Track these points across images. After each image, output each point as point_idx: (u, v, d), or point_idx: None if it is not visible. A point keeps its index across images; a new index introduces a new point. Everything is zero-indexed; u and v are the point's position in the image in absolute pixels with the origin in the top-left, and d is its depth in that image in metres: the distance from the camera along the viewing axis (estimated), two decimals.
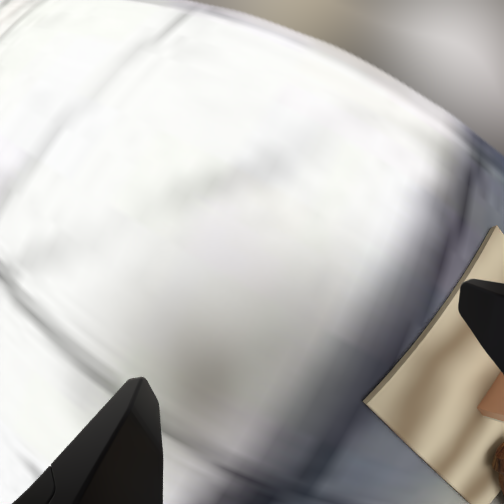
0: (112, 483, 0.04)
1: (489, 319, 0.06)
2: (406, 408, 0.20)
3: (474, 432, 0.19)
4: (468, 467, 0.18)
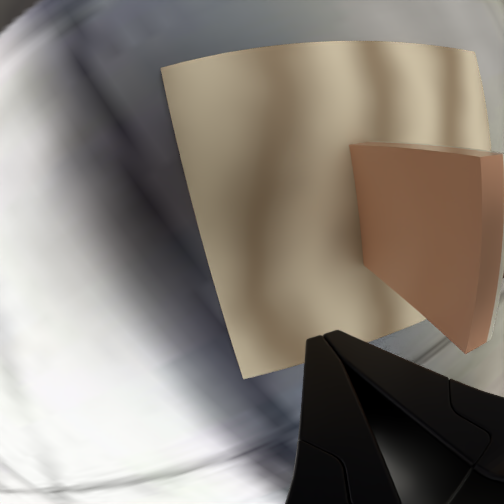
0: None
1: None
2: (280, 348, 0.20)
3: None
4: None
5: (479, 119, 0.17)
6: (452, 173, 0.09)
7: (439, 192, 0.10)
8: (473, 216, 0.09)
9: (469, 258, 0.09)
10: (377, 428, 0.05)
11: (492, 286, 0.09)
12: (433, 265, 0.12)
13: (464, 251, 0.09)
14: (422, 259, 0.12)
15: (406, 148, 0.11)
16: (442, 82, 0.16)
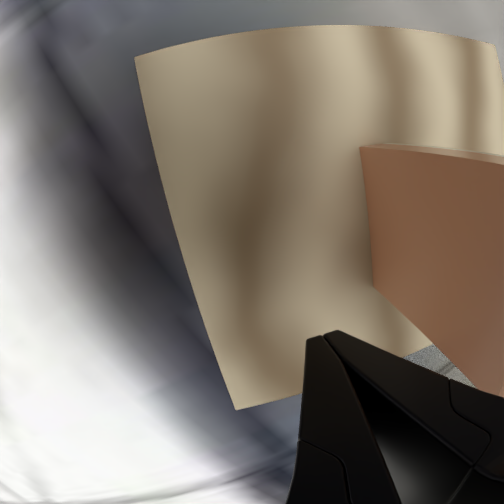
0: None
1: None
2: (277, 379, 0.18)
3: None
4: None
5: (500, 119, 0.14)
6: (499, 190, 0.06)
7: (479, 213, 0.07)
8: None
9: None
10: (377, 428, 0.05)
11: None
12: (463, 300, 0.09)
13: None
14: (449, 292, 0.10)
15: (435, 154, 0.09)
16: (462, 76, 0.13)
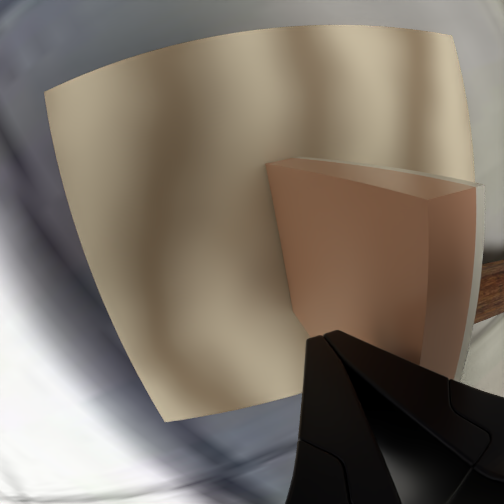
0: None
1: None
2: (199, 396, 0.17)
3: None
4: None
5: (457, 121, 0.14)
6: (380, 222, 0.06)
7: (362, 248, 0.07)
8: (412, 300, 0.05)
9: (404, 358, 0.06)
10: (377, 428, 0.05)
11: None
12: None
13: (397, 346, 0.06)
14: (346, 332, 0.09)
15: (319, 173, 0.08)
16: (404, 73, 0.13)
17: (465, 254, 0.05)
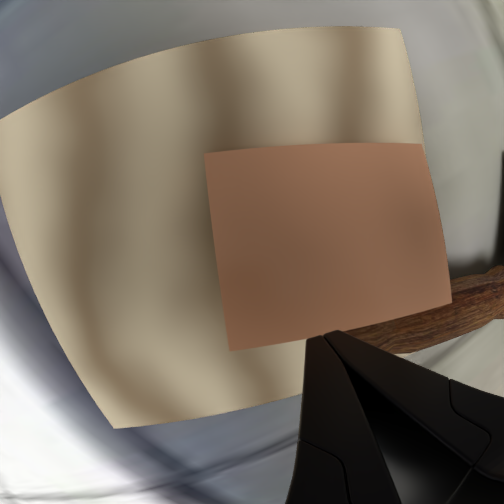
0: None
1: None
2: (140, 406, 0.17)
3: None
4: None
5: (405, 124, 0.14)
6: (401, 157, 0.13)
7: (391, 175, 0.13)
8: (425, 184, 0.13)
9: (431, 217, 0.13)
10: (377, 428, 0.05)
11: None
12: (397, 248, 0.12)
13: (426, 214, 0.12)
14: (380, 252, 0.12)
15: (341, 144, 0.13)
16: (335, 77, 0.13)
17: None
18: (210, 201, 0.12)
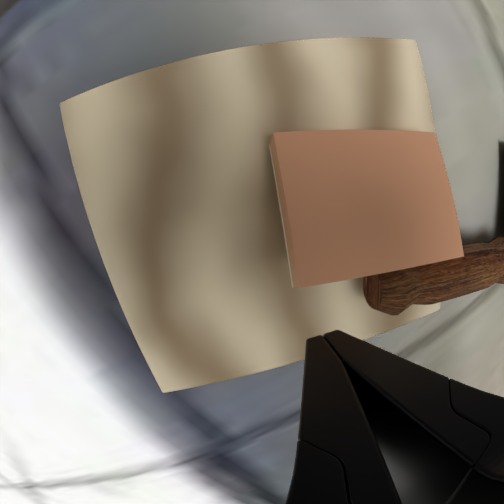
0: None
1: None
2: (193, 366, 0.20)
3: (306, 299, 0.20)
4: (348, 319, 0.21)
5: (420, 117, 0.17)
6: (420, 142, 0.16)
7: (412, 155, 0.15)
8: (438, 163, 0.16)
9: (444, 188, 0.15)
10: (377, 428, 0.05)
11: None
12: (420, 210, 0.15)
13: (440, 185, 0.15)
14: (408, 212, 0.15)
15: (375, 130, 0.15)
16: (367, 78, 0.16)
17: None
18: (281, 169, 0.15)
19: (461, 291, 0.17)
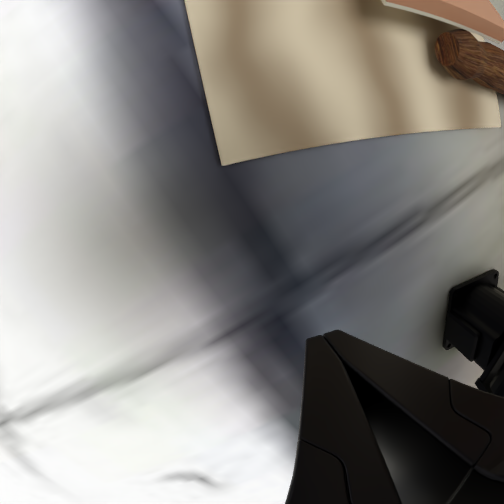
0: None
1: None
2: (269, 121, 0.16)
3: (387, 61, 0.15)
4: (427, 97, 0.16)
5: None
6: None
7: None
8: None
9: None
10: (377, 428, 0.05)
11: None
12: None
13: None
14: None
15: None
16: None
17: None
18: None
19: None
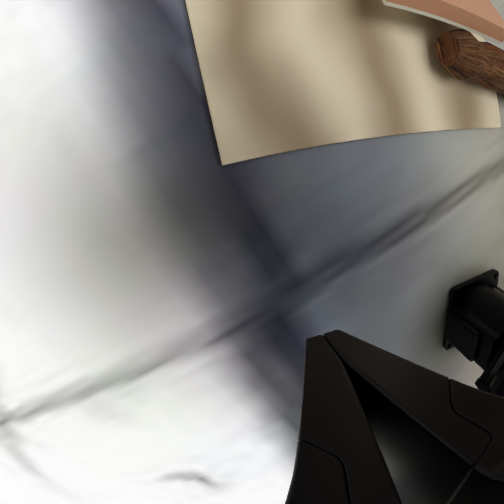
0: None
1: None
2: (269, 121, 0.16)
3: (388, 61, 0.15)
4: (427, 97, 0.16)
5: None
6: None
7: None
8: None
9: None
10: (377, 428, 0.05)
11: None
12: None
13: None
14: None
15: None
16: None
17: None
18: None
19: None
